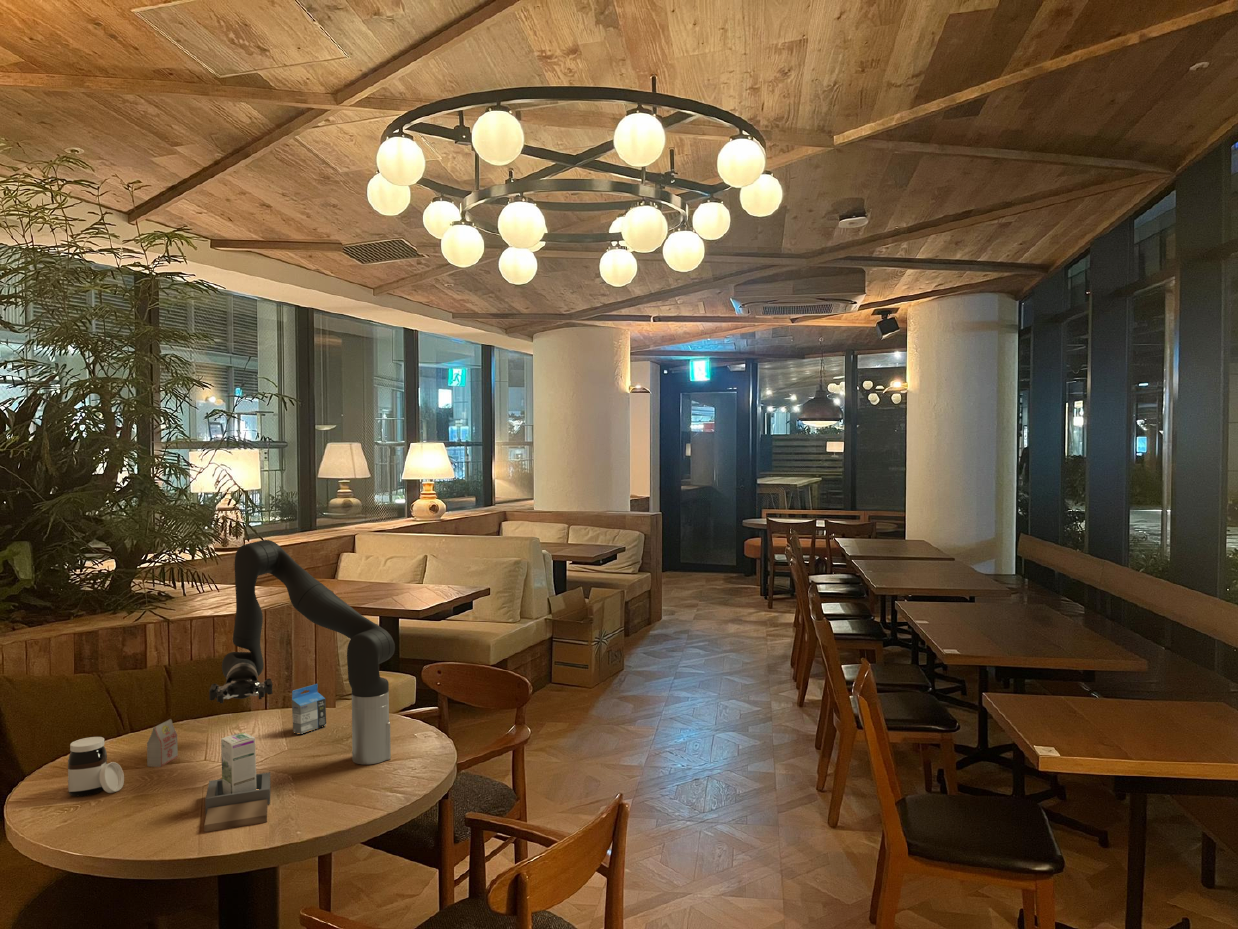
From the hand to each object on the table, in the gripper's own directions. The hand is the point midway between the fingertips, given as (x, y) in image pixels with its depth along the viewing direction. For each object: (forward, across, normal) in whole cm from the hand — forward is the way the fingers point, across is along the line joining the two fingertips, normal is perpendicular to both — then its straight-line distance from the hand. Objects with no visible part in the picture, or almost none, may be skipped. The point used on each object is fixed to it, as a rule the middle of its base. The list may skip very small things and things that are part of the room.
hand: (241, 697), depth 198 cm
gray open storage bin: (+13, 0, +20) cm, 24 cm away
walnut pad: (+24, 0, +20) cm, 31 cm away
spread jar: (-8, -31, +21) cm, 38 cm away
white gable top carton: (-22, -19, +21) cm, 36 cm away
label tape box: (-32, +18, +21) cm, 42 cm away
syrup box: (+13, 0, +20) cm, 24 cm away
